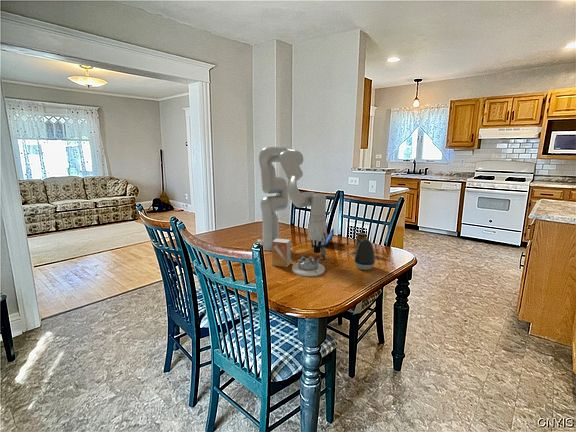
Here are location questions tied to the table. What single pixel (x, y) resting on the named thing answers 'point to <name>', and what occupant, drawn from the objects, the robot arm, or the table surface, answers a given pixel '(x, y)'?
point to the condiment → (360, 237)
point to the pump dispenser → (364, 255)
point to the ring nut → (311, 261)
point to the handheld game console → (326, 239)
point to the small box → (281, 252)
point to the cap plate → (308, 273)
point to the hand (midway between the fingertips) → (317, 252)
